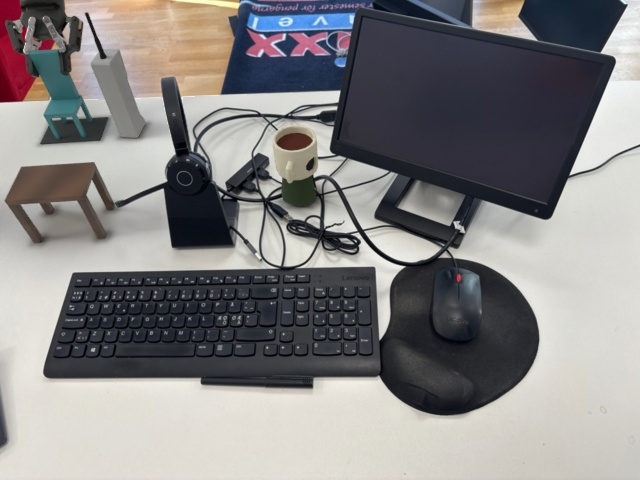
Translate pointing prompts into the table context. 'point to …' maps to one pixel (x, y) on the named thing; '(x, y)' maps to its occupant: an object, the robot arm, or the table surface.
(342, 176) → the table surface
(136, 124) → the vintage mobile phone
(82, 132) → the chair
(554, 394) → the table surface
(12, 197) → the desk
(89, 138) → the mat
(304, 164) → the character mug
